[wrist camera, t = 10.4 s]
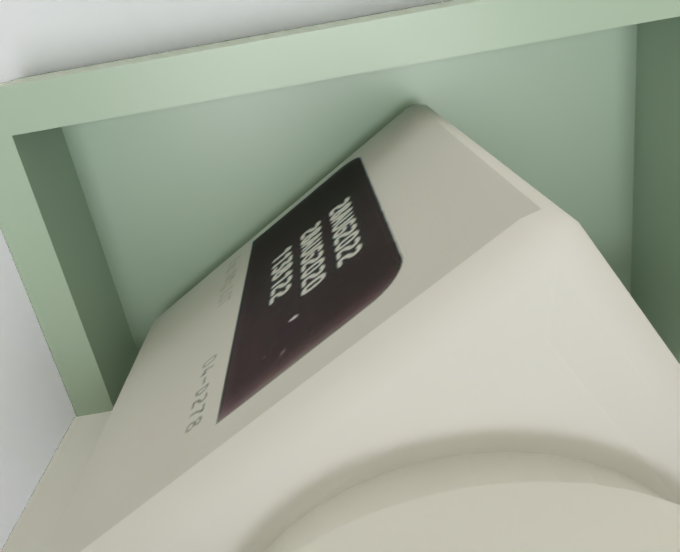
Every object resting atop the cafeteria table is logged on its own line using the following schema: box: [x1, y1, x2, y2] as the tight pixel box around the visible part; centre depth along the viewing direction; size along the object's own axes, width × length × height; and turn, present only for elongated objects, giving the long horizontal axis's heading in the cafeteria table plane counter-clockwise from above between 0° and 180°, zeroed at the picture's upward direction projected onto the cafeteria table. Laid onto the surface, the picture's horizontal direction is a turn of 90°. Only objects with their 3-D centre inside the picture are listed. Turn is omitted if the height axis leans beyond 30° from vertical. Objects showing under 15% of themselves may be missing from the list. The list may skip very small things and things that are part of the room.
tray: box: [0, 0, 680, 417], centre depth 15 cm, size 14×14×3 cm
